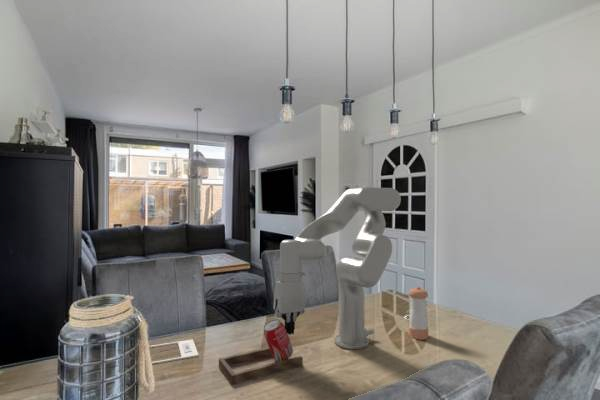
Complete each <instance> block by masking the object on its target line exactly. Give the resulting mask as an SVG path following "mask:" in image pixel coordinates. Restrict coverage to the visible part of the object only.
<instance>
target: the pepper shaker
mask: <svg viewBox="0 0 600 400" xmlns="http://www.w3.org/2000/svg"><path fill="white" fill-rule="evenodd" d="M408 295H409V297H410V309H411V311H410V312H409V315H410V317H409V319H410V320H409V325H408V336H409V337H410V338H412V339H415V340H427V339H429V327H428V313H427V308H426V307H427V306H426V305H427V304H426V301H427V300H426V299H427V298H428V295H429V294H428V291H427V290H426V289H424V288H421V287H420V286H416V287H414V288H411V289H410V290H409V292H408Z"/></svg>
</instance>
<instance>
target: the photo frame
mask: <svg viewBox="0 0 600 400" xmlns="http://www.w3.org/2000/svg"><path fill="white" fill-rule="evenodd" d="M171 345H177V346H178V349H179V354H180V357H179V356H178V357H173V358H168V359H163V360H162V359H161V360H157V361H151V362H152V363H153V364H152V365H155V364H154V363H158V364H163V363H167V362H175V361H180V360H186V359H190V358H197V357H198V358H199V353H198V348H197V347H196V345H195V341H194V339H185V340H180V341H172V342H167V343H160V344H154V345H153V344H152V345H149V346H150V348H149V349H152V347H153V348H158V347H165V346H171Z"/></svg>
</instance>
